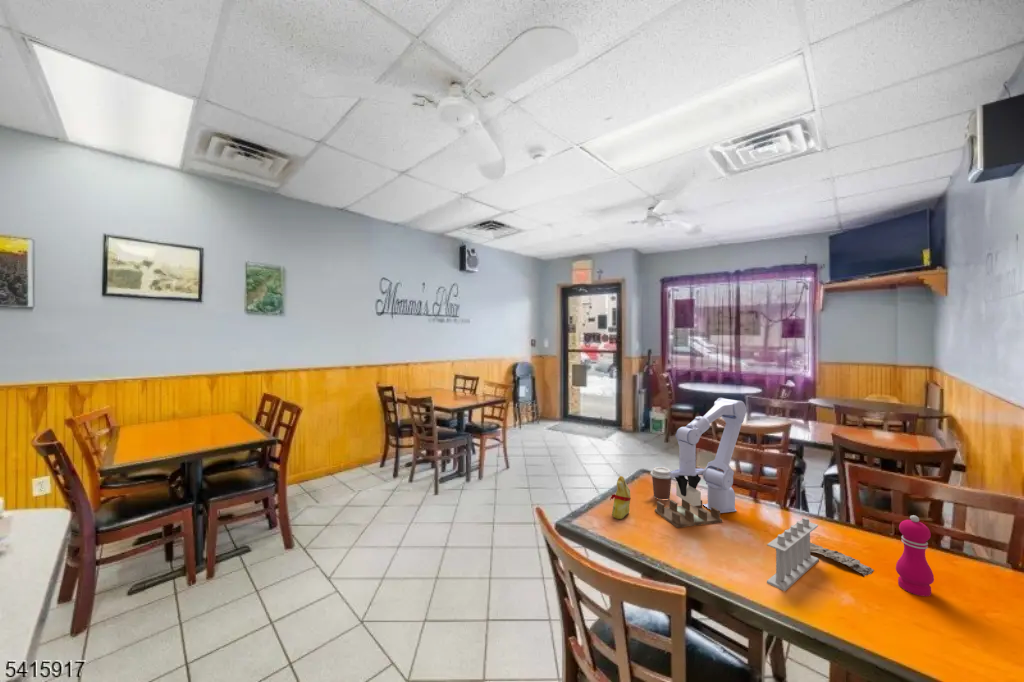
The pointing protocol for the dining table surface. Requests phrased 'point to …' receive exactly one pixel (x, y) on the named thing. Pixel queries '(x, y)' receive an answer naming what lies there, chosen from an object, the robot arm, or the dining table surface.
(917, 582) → the pepper mill
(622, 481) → the chocolate bunny
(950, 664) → the dining table surface
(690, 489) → the cream rectangular block
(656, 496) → the coffee cup
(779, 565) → the test tube rack
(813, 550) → the stone fragment
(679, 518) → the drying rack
